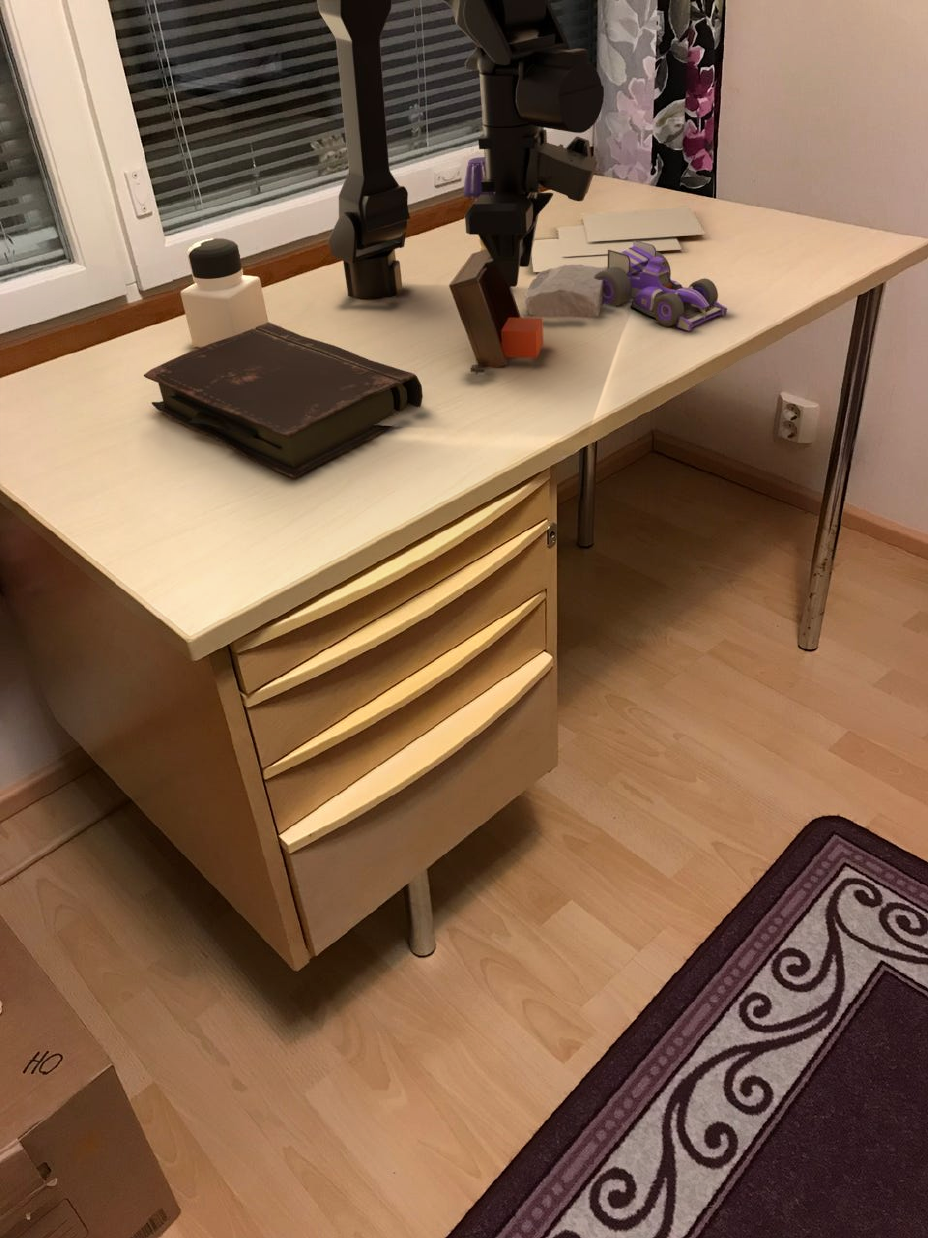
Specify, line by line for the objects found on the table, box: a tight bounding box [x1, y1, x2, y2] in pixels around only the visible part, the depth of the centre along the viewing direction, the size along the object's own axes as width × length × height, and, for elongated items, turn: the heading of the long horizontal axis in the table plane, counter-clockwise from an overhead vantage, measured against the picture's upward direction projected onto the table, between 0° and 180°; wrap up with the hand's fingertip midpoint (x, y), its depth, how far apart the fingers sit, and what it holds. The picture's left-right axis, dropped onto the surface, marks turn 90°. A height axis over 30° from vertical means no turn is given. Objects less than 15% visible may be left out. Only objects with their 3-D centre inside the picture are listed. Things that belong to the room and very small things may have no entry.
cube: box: [501, 317, 544, 359], centre depth 115 cm, size 4×4×4 cm
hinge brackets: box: [469, 364, 487, 375], centre depth 116 cm, size 2×14×1 cm, turn 166°
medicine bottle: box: [180, 237, 269, 348], centre depth 123 cm, size 7×7×12 cm
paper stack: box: [531, 205, 706, 273], centre depth 146 cm, size 23×25×1 cm
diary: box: [143, 321, 424, 479], centre depth 107 cm, size 19×25×5 cm
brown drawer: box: [448, 241, 526, 369], centre depth 112 cm, size 11×10×7 cm
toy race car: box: [594, 240, 728, 332], centre depth 122 cm, size 10×15×6 cm, turn 39°
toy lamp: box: [462, 156, 494, 251], centre depth 128 cm, size 5×5×17 cm
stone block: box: [524, 264, 608, 318], centre depth 126 cm, size 12×5×10 cm
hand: (518, 275), depth 110 cm, fingers closed on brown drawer, 6 cm apart
